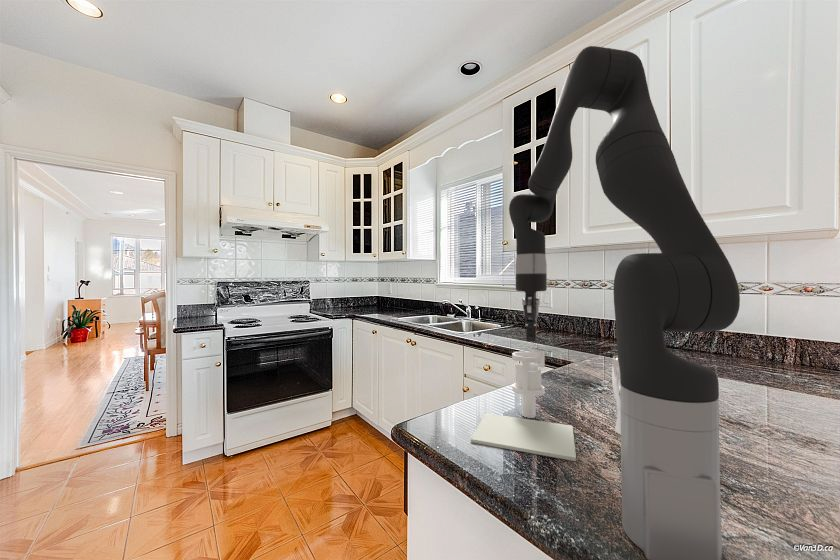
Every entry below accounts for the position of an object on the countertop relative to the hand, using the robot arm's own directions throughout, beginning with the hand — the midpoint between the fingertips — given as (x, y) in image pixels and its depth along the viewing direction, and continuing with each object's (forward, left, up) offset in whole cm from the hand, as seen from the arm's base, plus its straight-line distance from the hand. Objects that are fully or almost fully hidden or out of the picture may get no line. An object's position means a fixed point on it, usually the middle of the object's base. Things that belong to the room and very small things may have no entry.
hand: (531, 340), depth 85 cm
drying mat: (-20, 0, -16) cm, 25 cm away
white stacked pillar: (-9, 0, -16) cm, 18 cm away
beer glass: (-11, -20, -16) cm, 28 cm away
